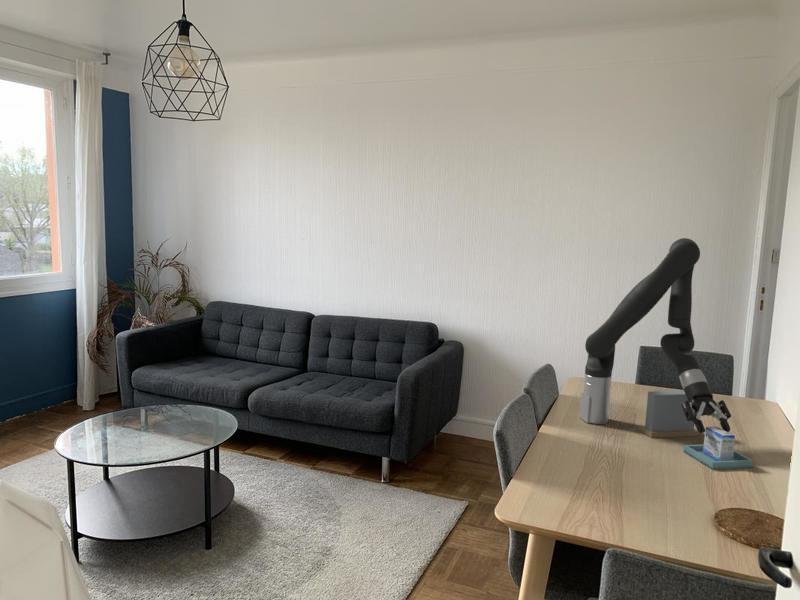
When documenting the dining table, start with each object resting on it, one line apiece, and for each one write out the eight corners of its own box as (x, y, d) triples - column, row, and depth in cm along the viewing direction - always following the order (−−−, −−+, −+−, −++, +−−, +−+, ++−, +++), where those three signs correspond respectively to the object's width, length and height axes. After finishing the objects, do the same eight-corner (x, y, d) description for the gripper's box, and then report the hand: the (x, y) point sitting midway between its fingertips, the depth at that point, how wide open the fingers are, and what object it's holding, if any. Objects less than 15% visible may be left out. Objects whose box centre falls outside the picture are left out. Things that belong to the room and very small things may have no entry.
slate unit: (651, 437, 201) (654, 396, 199) (639, 430, 208) (643, 390, 206) (698, 435, 204) (702, 395, 202) (685, 428, 211) (689, 389, 209)
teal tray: (712, 469, 176) (712, 462, 175) (683, 451, 189) (683, 445, 189) (752, 467, 178) (753, 460, 178) (721, 450, 191) (721, 443, 191)
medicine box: (702, 452, 187) (705, 426, 186) (714, 452, 188) (717, 426, 187) (719, 462, 179) (722, 435, 178) (732, 462, 180) (735, 435, 179)
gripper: (681, 380, 189) (701, 427, 180) (721, 380, 191) (742, 426, 182) (669, 391, 195) (688, 437, 186) (708, 391, 197) (728, 436, 188)
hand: (715, 432), depth 184 cm, fingers open, 8 cm apart
